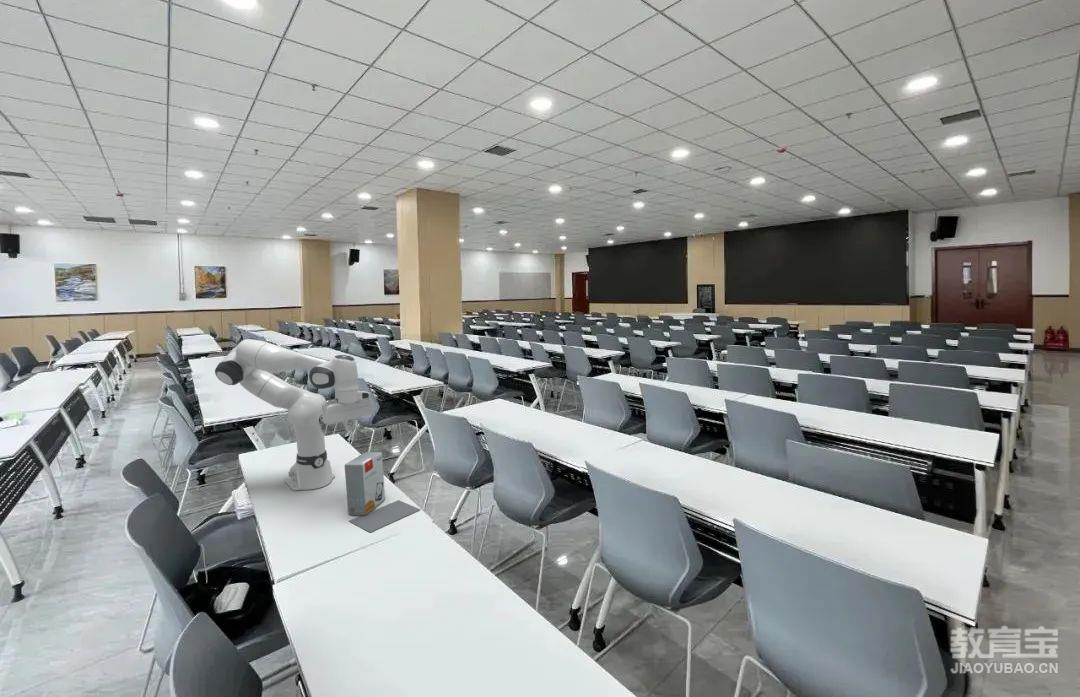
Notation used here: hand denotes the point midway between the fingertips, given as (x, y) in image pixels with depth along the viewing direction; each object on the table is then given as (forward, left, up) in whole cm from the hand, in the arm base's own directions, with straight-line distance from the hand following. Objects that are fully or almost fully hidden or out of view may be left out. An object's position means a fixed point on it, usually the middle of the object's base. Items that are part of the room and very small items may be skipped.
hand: (349, 430), depth 201 cm
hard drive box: (+9, 0, -30) cm, 31 cm away
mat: (+21, 0, -30) cm, 36 cm away
